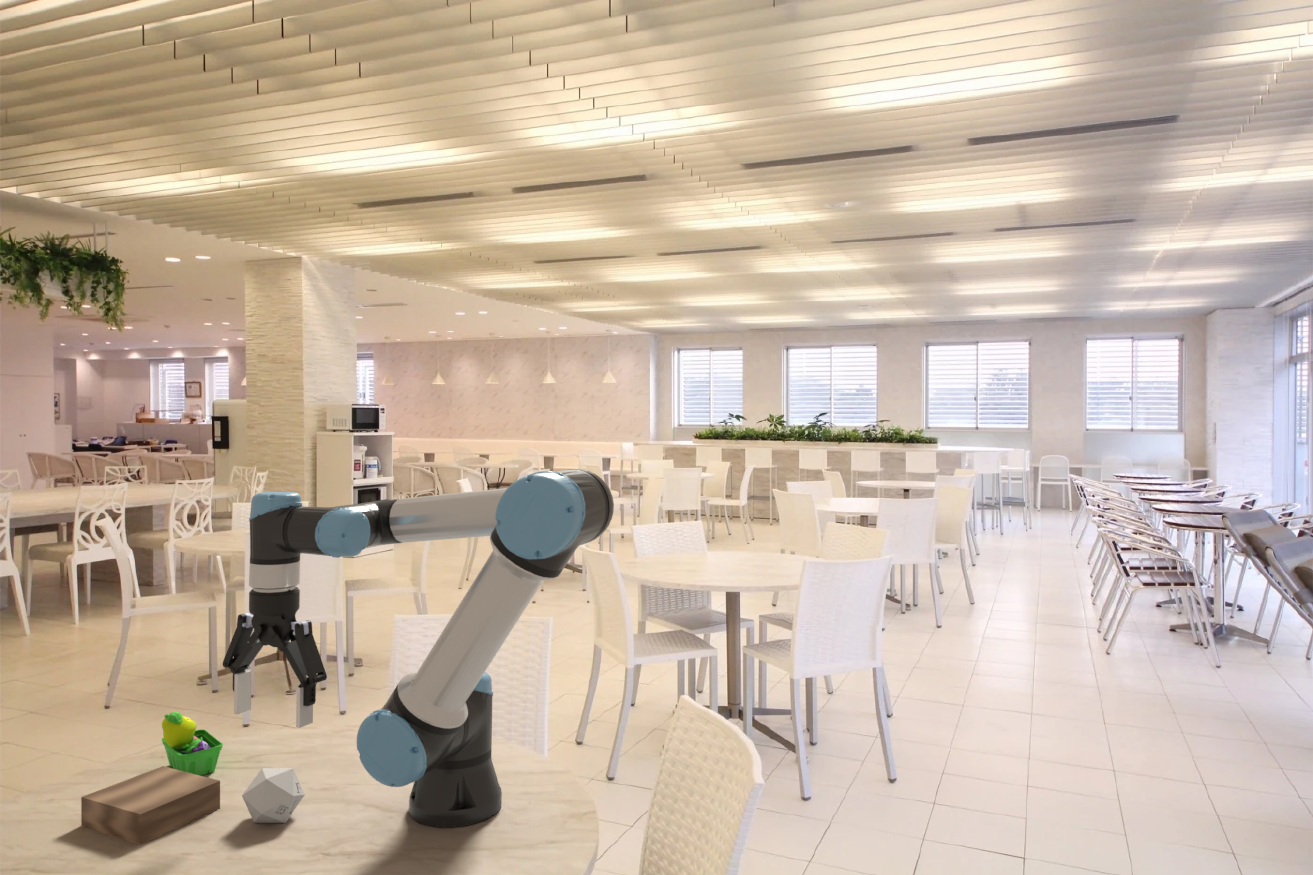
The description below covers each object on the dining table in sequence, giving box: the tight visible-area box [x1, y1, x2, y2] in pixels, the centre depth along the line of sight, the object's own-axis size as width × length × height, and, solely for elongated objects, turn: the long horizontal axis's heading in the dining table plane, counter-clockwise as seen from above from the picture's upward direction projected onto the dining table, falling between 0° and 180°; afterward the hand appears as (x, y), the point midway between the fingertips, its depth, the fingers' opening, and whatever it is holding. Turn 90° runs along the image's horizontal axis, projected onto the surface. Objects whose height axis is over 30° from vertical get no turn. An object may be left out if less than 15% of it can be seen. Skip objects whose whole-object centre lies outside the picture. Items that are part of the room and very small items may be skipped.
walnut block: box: [80, 765, 221, 845], centre depth 143 cm, size 14×14×5 cm
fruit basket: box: [161, 711, 224, 776], centre depth 163 cm, size 11×9×11 cm
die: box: [241, 767, 306, 824], centre depth 143 cm, size 8×9×10 cm
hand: (272, 718), depth 143 cm, fingers open, 13 cm apart
